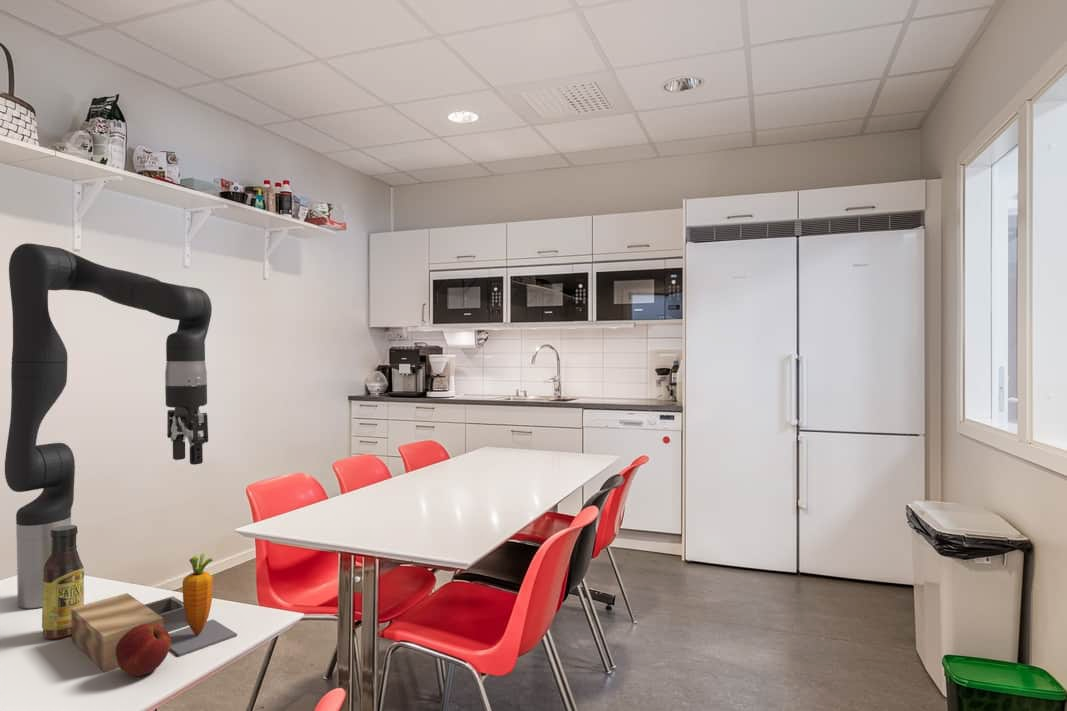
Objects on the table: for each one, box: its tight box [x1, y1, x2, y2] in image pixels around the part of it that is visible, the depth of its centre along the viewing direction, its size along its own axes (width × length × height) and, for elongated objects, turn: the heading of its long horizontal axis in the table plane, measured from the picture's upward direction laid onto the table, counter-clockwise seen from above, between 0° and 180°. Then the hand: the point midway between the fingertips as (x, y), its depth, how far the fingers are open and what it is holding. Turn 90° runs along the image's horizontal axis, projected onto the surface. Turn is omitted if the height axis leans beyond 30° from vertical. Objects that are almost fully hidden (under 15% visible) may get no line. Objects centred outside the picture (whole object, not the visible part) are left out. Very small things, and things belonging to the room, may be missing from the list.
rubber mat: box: [169, 618, 238, 657], centre depth 115 cm, size 10×10×1 cm
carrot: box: [182, 553, 214, 636], centre depth 116 cm, size 5×5×15 cm
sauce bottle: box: [41, 524, 85, 640], centre depth 118 cm, size 7×6×20 cm
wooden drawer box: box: [71, 592, 189, 673], centre depth 115 cm, size 18×16×6 cm
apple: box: [115, 623, 171, 677], centre depth 103 cm, size 7×8×8 cm
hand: (187, 461), depth 129 cm, fingers open, 8 cm apart
